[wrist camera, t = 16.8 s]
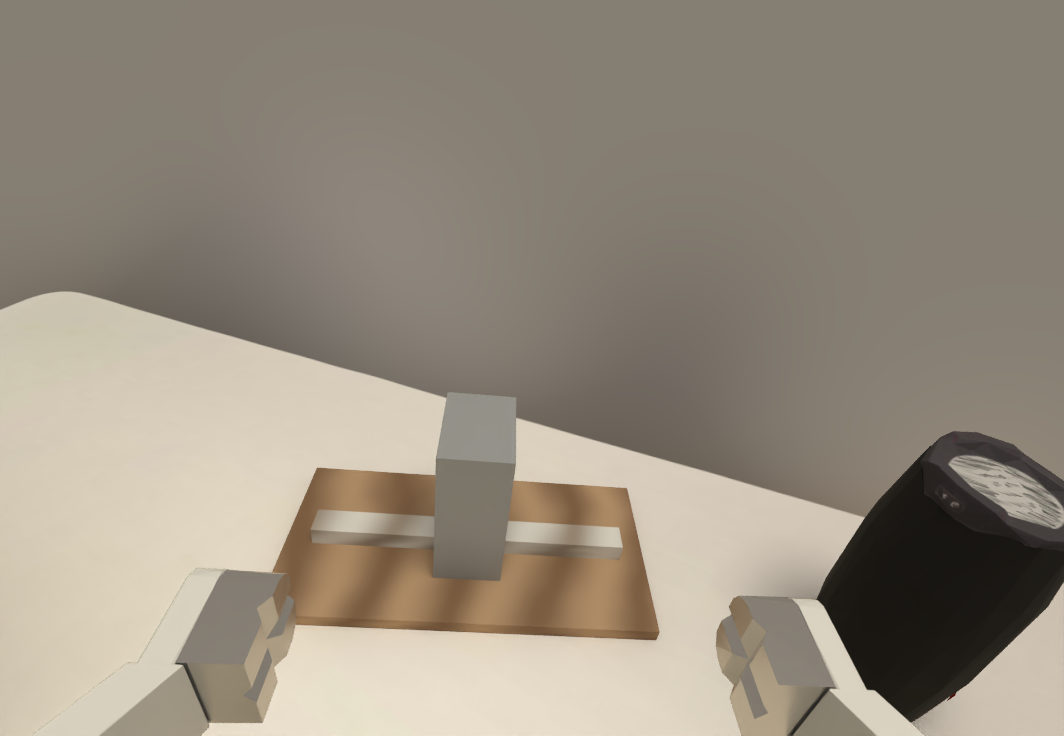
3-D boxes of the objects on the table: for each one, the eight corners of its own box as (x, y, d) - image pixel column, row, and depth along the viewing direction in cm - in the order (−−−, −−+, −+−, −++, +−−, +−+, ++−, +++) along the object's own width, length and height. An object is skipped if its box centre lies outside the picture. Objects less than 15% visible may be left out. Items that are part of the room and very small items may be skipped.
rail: (256, 622, 38) (250, 600, 36) (318, 475, 49) (315, 455, 48) (656, 639, 40) (664, 619, 39) (624, 495, 52) (630, 476, 50)
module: (432, 577, 41) (435, 458, 34) (442, 505, 47) (447, 392, 40) (500, 581, 41) (516, 463, 35) (502, 509, 47) (516, 397, 41)
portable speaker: (952, 723, 37) (1168, 532, 27) (840, 756, 35) (1029, 559, 24) (860, 609, 44) (1004, 419, 33) (761, 629, 42) (881, 431, 31)
